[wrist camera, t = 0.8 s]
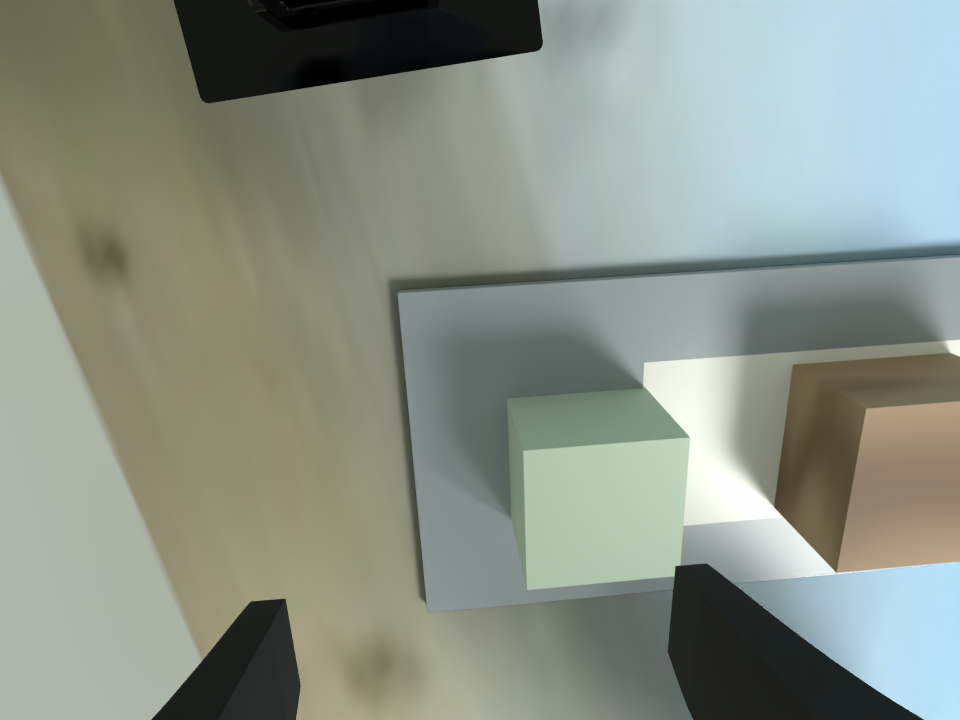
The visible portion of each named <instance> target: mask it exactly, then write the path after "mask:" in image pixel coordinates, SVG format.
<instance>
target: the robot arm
mask: <svg viewBox="0 0 960 720" xmlns="http://www.w3.org/2000/svg"><path fill="white" fill-rule="evenodd" d="M668 653H669V656H670V659H671V662H672V665H673V668H674V671H675V674H676V677H677V680H678V683H679V685H680V688H681V691H682V693H683V696H684V699H685V702H686V704H687V707H688V709H689V711H690V713H691V715H692V718H693V720H923V719H922V718H920V717H918V716H917V715H915V714H913V713H912V712H910V711H909V710H907V709H905V708H904V707H902V706H900V705H899V704H897V703H895V702H894V701H892V700H891V699H889V698H888V697H886V696H885V695H883V694H881V693H880V692H878V691H877V690H875V689H874V688H872V687H871V686H869V685H868V684H866V683H865V682H863V681H862V680H861V679H859V678H858V677H856V676H855V675H853V674H852V673H850V672H849V671H848V670H846V669H845V668H843V667H842V666H840V665H839V664H837V663H836V662H835V661H833V660H832V659H830V658H829V657H828V656H826V655H825V654H823V653H822V652H821V651H819V650H818V649H817V648H815V647H814V646H812V645H811V644H810V643H808V642H807V641H806V640H804V639H803V638H802V637H800V636H799V635H798V634H796V633H795V632H794V631H792V630H791V629H790V628H789V627H787V626H786V625H785V624H783V623H782V622H781V621H779V620H778V619H777V618H776V617H774V616H773V615H772V614H771V613H769V612H768V611H767V610H765V609H764V608H763V607H762V606H760V605H759V604H758V603H757V602H755V601H754V600H753V599H752V598H750V597H749V596H748V595H747V594H745V593H744V592H743V591H742V590H740V589H739V588H738V587H737V586H735V585H734V584H733V583H732V582H730V581H729V580H728V579H727V578H725V577H724V576H723V575H722V574H720V573H719V572H718V571H717V570H715V569H714V568H713V567H711V566H710V565H709V564H707V563H705V564H693V565H681V566H675V576H674V588H673V599H672V610H671V622H670V633H669V644H668ZM300 687H301V685H300V679H299V674H298V668H297V662H296V656H295V651H294V645H293V639H292V633H291V628H290V622H289V616H288V611H287V605H286V599H276V600H264V601H252V602H250V603H249V604H248V605H247V606H246V608H245V609H244V610H243V611H242V612H241V614H240V615H239V616H238V617H237V619H236V620H235V621H234V622H233V624H232V625H231V626H230V627H229V629H228V630H227V631H226V632H225V634H224V635H223V636H222V637H221V639H220V640H219V641H218V642H217V643H216V645H215V646H214V647H213V648H212V650H211V651H210V652H209V653H208V655H207V656H206V657H205V658H204V659H203V661H202V662H201V663H200V664H199V665H198V667H197V668H196V669H195V670H194V671H193V673H192V674H191V675H190V676H189V677H188V678H187V680H186V681H185V682H184V683H183V684H182V685H181V687H180V688H179V689H178V690H177V691H176V693H175V694H174V695H173V696H172V697H171V698H170V700H169V701H168V702H167V703H166V704H165V705H164V706H163V707H162V709H161V710H160V711H159V712H158V713H157V714H156V715H155V716H154V717H153V718H152V720H296V715H297V708H298V701H299V694H300Z"/></svg>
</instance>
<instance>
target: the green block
mask: <svg viewBox="0 0 960 720" xmlns="http://www.w3.org/2000/svg"><path fill="white" fill-rule="evenodd" d="M507 413H508V442H509V471H510V500H511V521H512V526H513V530H514V535H515V539H516V543H517V548H518V552H519V557H520V561H521V566H522V570H523V575H524V579H525V584H526V588H527V590H534V589H544V588H555V587H566V586H576V585H587V584H597V583H608V582H619V581H629V580H640V579H651V578H661V577H672V576H675V566H680V563H681V550H682V537H683V524H684V511H685V498H686V485H687V472H688V459H689V446H690V437H689V436H688V434H687V433H686V432H685V431H684V430H683V429H682V428H681V427H680V425H679V424H678V423H677V422H676V421H675V420H674V419H673V418H672V417H671V415H670V414H669V413H668V412H667V411H666V410H665V409H664V408H663V407H662V405H661V404H660V403H659V402H658V401H657V400H656V399H655V398H654V396H653V395H652V394H651V393H650V392H649V391H648V390H647V389H646V388H640V389H627V390H614V391H600V392H587V393H574V394H560V395H547V396H534V397H520V398H507Z"/></svg>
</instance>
